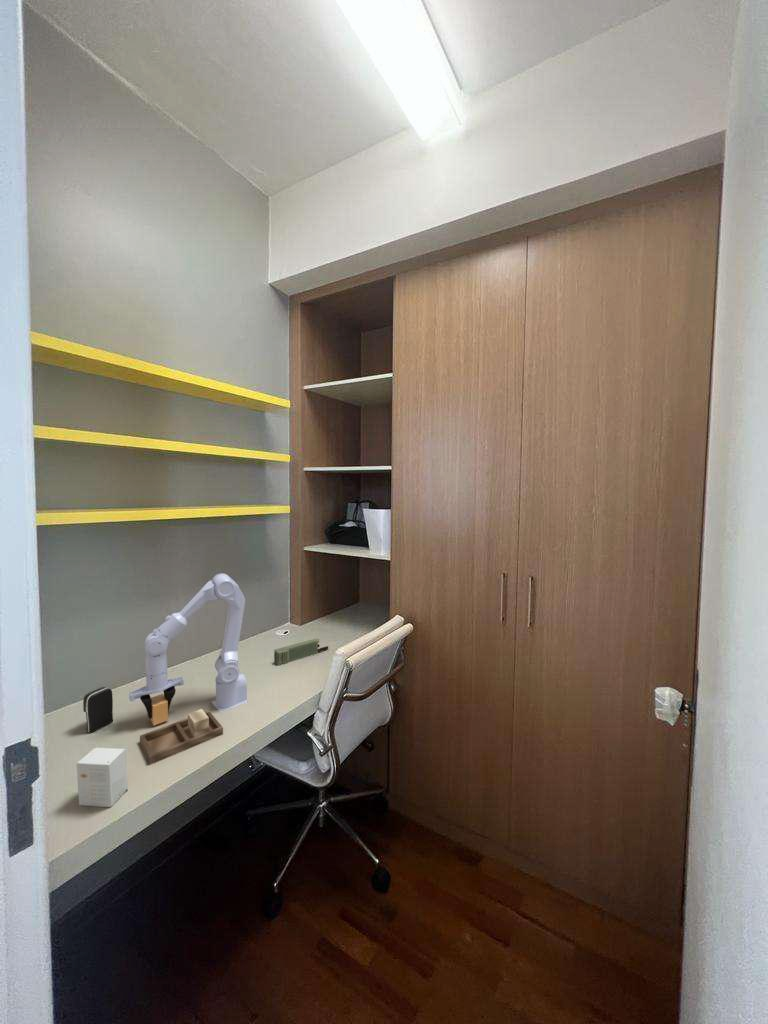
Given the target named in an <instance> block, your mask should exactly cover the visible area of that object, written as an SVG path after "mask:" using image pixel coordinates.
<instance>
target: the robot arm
mask: <svg viewBox="0 0 768 1024" xmlns="http://www.w3.org/2000/svg"><path fill="white" fill-rule="evenodd" d="M218 597H219V598H221V599H222V600H225V601H226V602H227V603H228V610H227V616H226V622H225V629H224V634H223V635H224V636H223V642H222V647H221V650H219V656H218V657H217V659H216V661H214V662H215V663H214V667H215V670H216V671H217V675H216V677H215V699H214V700H212V701H211V703H212V705H213V706H214V707H215V709H217V710H218V712H220V713H222V712H225V711H227V710H229V709H232V708H234V707H237V706H239V705H243V704H245V703H247V702H248V689H247V688H248V685H247V684H248V683H247V679H246V676H245V674H244V673H240V668H239V654H238V650H239V643H240V638H241V632H242V625H243V617H244V611H245V605H246V598H245V596H244V593H243V592H242V590H241V588H240V586H239V584H238V583H236V581H235V580H234V579H233V578H232V577H231V576H229V575H228V574H226V573H222V572H221V573H217V574H216V575H214V576H213V578H212V579H211V580H209V581H207V582H206V584H204V586H203V587H201V589H200V590H199V591H198V592H197V593H196V594H195V595H194V596H193V597H192V599H190V601H189V602H188V603H187V604H186V605H185V606H184V607H183V608H182V609H181V611H179V612H174V613H172V614H171V615H169V614H168V615H167V616H166V617H165V618H164V619H165V621H163V622H162V624H161V625H159V626H158V627H157V628H154V630H152V632H151V633H149V634H148V635H147V636H146V638H145V641H144V649H145V650H144V651H145V676H146V677H145V681H146V685H145V686H143V687H142V686H141V688H138V689H136V690H134V691H130V692H129V695H128V696H129V698H128V699H129V701H130V702H134V701H135V700H136V699H140V701H141V702H142V704H143V705H144V707H145V709H146V713H147V717H148V719H149V720H150V719H151V718H152V711H151V703H152V699H151V695H152V694H158V693H160V692H163V695H164V697H165V698H166V700H167V701H168V713H169V711H170V706H171V704H172V703H171V702H172V700H173V698H174V696H175V695H176V687H177V686H184V685H185V682H184V681H185V680H184V678H183V676H180V677H175V678H169V679H168V677H169V675H168V655H167V649H168V646H169V645H168V644H169V643H170V642H173V640H174V639H176V637H177V636H178V635H179V634H180V633H181V632H182V631H183V630H184V629H185V628H187V626H188V619H190V618H191V617H192V616H193V615H194V614H195V613H196V612H198V611H199V609H201V608H202V606H204V605H206V604H207V602H208V601H217V600H218Z"/></svg>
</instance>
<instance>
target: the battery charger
mask: <svg viewBox="0 0 768 1024" xmlns="http://www.w3.org/2000/svg"><path fill="white" fill-rule="evenodd" d="M113 701H114V700H113V690H112V689H111V688H109V687H106V686H102V687H99V688H97V689H94V690H92V691H90V692H88V693H86V694H85V695H84V697H83V701H82V702H83V703H82V706H83V708H82V710H83V712H84V713H85V716H86V718H85V719H86V727H85V730H86V731H87V732H88V733H90V734H91V733H94V732H95V731H98V730H99V729H102V728H104V727H105V726H107V725H109V724H112V723H113V722H114V717H113V714H114V711H113V708H114V706H113V705H114V704H113V703H114V702H113Z"/></svg>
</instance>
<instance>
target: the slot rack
mask: <svg viewBox="0 0 768 1024" xmlns="http://www.w3.org/2000/svg"><path fill="white" fill-rule="evenodd" d="M204 712H205V713H206V715H207V716H208V717H209V731H208V732H206V733H204V734H201V735H199V736H196V737H194V738H193V736H192V735H191V733H190V732H189V730H188V717H187V718H183V719H181V720H178V721H176V722H173V723H171V724H168V725H164V726H163V727H159V728H157V729H154V730H151V731H149V732H146V733H143V734H140V735H139V744H140V746H141V749H142V750H143V753H144V755H145V757H146V760H147V761H148V764H149V766H151V765H153V764H156V763H158V762H160V761H163V760H165V759H167V758H171V757H173V756H175V755H177V754H179V753H182V752H184V751H187V750H189V749H191V748H193V747H196V746H199V745H202V744H204V743H206V742H209V741H210V740H213V739H216V738H218V737H220V736H223V735H224V727H223V726H222V725H221V724H220V722H219V721H218V720H217V718H216V717H215V716H214V715H213V714H212V712H211V711H210V710H206V711H205V710H204Z"/></svg>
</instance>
